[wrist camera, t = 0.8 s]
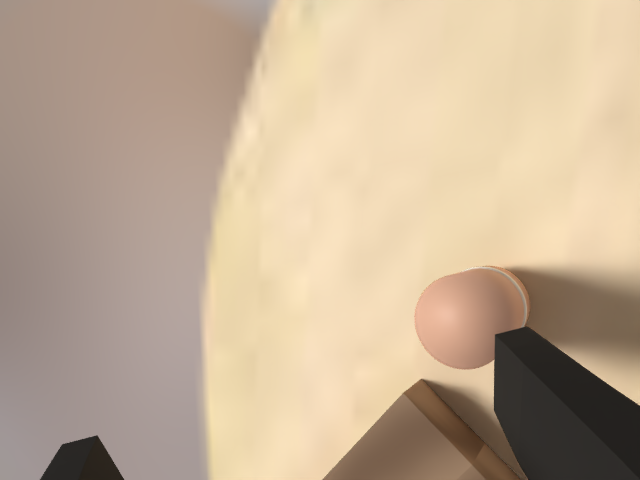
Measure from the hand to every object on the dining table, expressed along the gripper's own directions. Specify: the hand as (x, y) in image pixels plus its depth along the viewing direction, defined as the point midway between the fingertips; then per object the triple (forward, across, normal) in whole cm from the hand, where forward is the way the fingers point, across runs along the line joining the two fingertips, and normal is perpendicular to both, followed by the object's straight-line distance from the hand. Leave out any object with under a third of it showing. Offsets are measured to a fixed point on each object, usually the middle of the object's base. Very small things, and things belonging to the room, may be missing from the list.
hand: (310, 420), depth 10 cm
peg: (+10, -8, +8) cm, 16 cm away
